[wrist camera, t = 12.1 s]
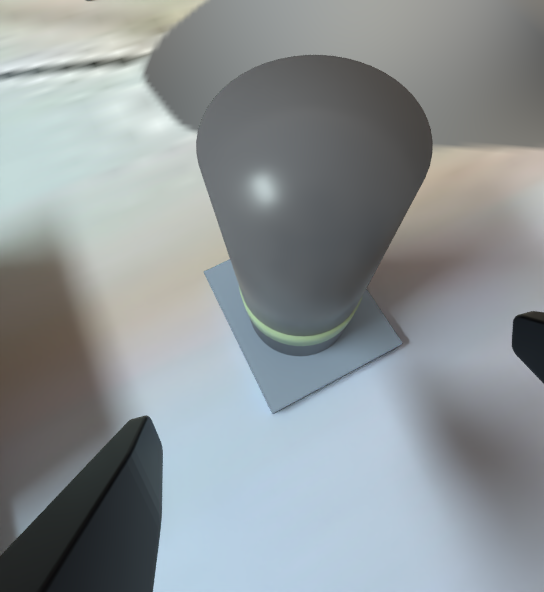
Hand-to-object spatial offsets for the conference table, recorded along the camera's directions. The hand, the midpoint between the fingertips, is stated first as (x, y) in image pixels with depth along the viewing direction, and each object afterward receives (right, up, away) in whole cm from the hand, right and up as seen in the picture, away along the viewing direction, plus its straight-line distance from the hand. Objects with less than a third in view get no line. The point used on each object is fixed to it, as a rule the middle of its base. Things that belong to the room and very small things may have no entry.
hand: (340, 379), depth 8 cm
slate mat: (0, +1, +10) cm, 10 cm away
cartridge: (0, +1, +9) cm, 10 cm away
